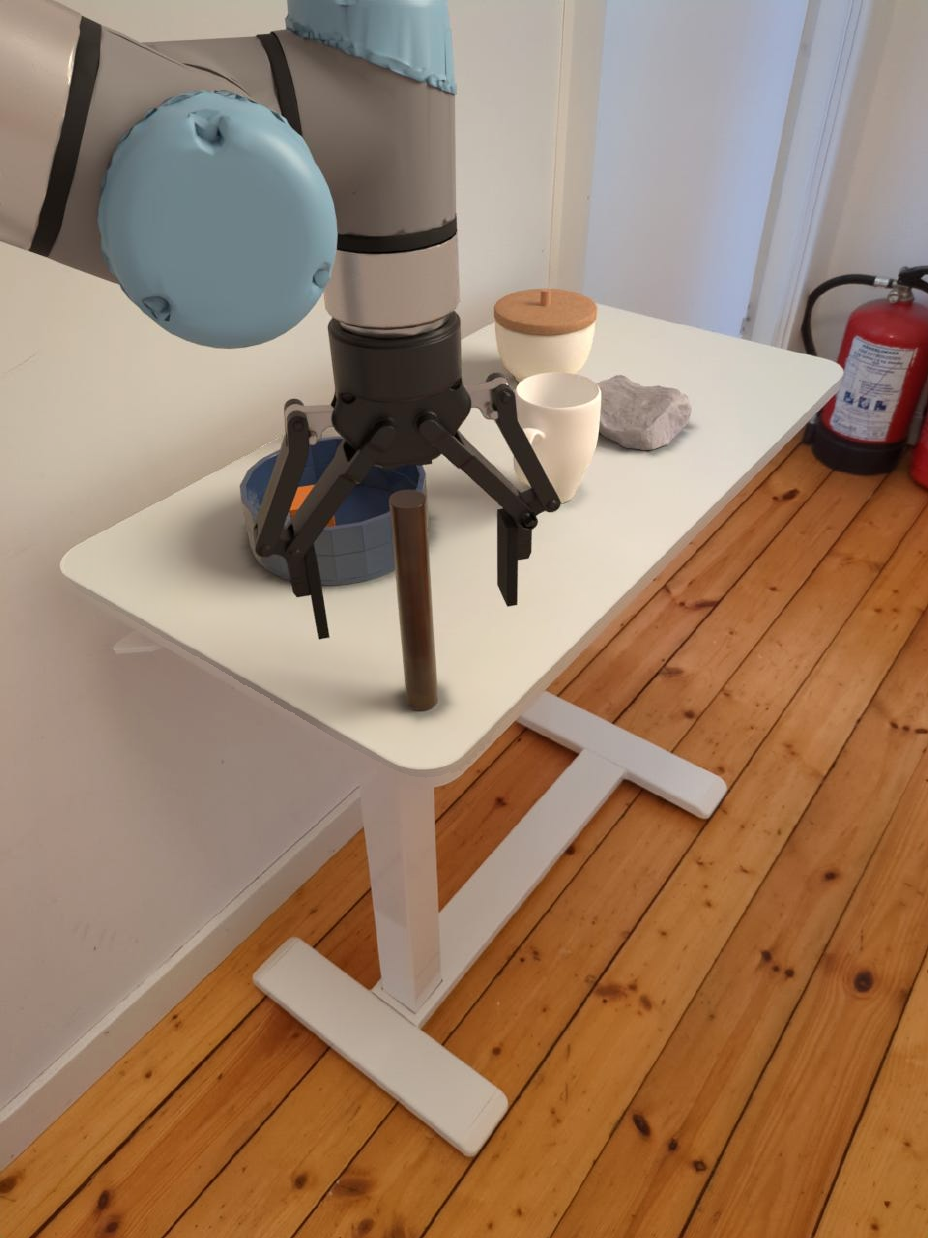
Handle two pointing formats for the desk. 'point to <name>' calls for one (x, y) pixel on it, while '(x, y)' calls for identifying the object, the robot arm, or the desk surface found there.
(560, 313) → the lidded bowl
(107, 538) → the desk surface
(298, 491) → the block
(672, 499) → the desk surface
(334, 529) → the stir bowl
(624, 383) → the stone block
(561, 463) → the mug
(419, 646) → the stick
